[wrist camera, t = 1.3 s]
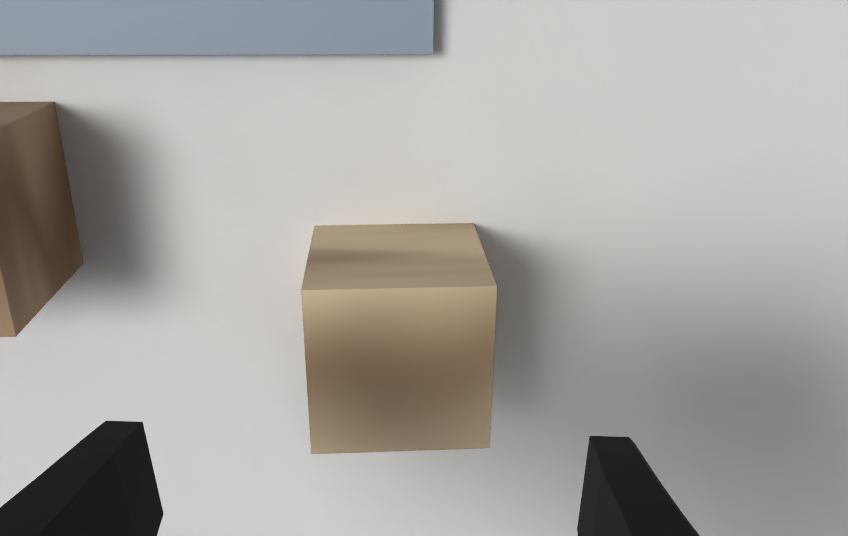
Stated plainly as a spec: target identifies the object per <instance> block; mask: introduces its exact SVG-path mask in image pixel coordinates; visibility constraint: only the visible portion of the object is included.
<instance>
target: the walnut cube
mask: <svg viewBox="0 0 848 536" xmlns="http://www.w3.org/2000/svg"><path fill="white" fill-rule="evenodd" d="M82 264H83V260H82V254H81V249H80V243H79V238H78V232H77V226H76V221H75V215H74V210H73V204H72V198H71V193H70V187H69V182H68V176H67V170H66V165H65V159H64V154H63V148H62V143H61V137H60V131H59V126H58V120H57V115H56V109H55V103H54V102H0V337H16V336H17V335H18V334H19V333H20V331H21V330H22V329H23V328H24V327H25V326H26V325H27V324H28V323H29V322H30V321H31V319H32V318H33V317H34V316H35V315H36V314H37V313H38V312H39V311H40V310H41V309H42V307H43V306H44V305H45V304H46V303H47V302H48V301H49V300H50V299H51V298H52V297H53V295H54V294H55V293H56V292H57V291H58V290H59V289H60V288H61V287H62V286H63V285H64V283H65V282H66V281H67V280H68V279H69V278H70V277H71V276H72V275H73V274H74V273H75V271H76V270H77V269H78V268H79V267H80V266H81V265H82Z"/></svg>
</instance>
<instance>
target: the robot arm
mask: <svg viewBox="0 0 848 536" xmlns="http://www.w3.org/2000/svg"><path fill="white" fill-rule="evenodd" d="M162 516H163V510H162V506H161V501H160V497H159V493H158V488H157V484H156V479H155V475H154V471H153V466H152V462H151V457H150V453H149V449H148V444H147V440H146V435H145V431H144V426H143V422H124V421H105V422H104V423H103V424H101V425H100V426H99V427H97V428H96V429H95V430H94V431H92V432H91V433H90V434H89V435H88V436H86V437H85V438H84V439H83V440H81V441H80V442H79V443H78V444H77V445H76V446H74V447H73V448H72V449H71V450H70V451H68V452H67V453H66V454H65V455H64V456H62V457H61V458H60V459H59V460H58V461H56V462H55V463H54V464H53V465H52V466H50V467H49V468H48V469H47V470H46V471H45V472H43V473H42V474H41V475H40V476H38V477H37V478H36V479H35V480H34V481H32V482H31V483H30V484H29V485H27V486H26V487H25V488H24V489H23V490H21V491H20V492H19V493H18V494H16V495H15V496H14V497H13V498H12V499H10V500H9V501H8V502H7V503H5V504H4V505H3V506H2V507H0V536H157V533H158V530H159V526H160V523H161V520H162ZM577 530H578V536H699V534H698V533H697V532H696V530H695V529H694V528H693V527H692V525H691V524H690V523H689V521H688V520H687V519H686V517H685V516H684V515H683V513H682V512H681V511H680V509H679V508H678V507H677V505H676V504H675V502H674V501H673V500H672V498H671V497H670V495H669V494H668V492H667V491H666V490H665V488H664V487H663V485H662V484H661V482H660V481H659V480H658V478H657V477H656V475H655V474H654V472H653V471H652V469H651V468H650V466H649V465H648V463H647V462H646V460H645V459H644V457H643V455H642V454H641V452H640V451H639V449H638V448H637V446H636V445H635V443H634V442H633V441H632V440H631V439H630V438H629V437H605V436H590V438H589V446H588V453H587V461H586V468H585V476H584V483H583V491H582V498H581V505H580V513H579V520H578V528H577Z"/></svg>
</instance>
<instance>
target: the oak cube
mask: <svg viewBox="0 0 848 536" xmlns="http://www.w3.org/2000/svg"><path fill="white" fill-rule="evenodd" d="M301 295H302V311H303V327H304V344H305V360H306V376H307V393H308V409H309V425H310V441H311V454H328V453H358V452H387V451H416V450H445V449H475V448H490V429H491V407H492V386H493V365H494V343H495V322H496V300H497V284H496V282H495V279H494V276H493V274H492V271H491V268H490V266H489V263H488V260H487V258H486V255H485V252H484V250H483V247H482V245H481V242H480V239H479V237H478V234H477V231H476V229H475V226H474V223H454V224H393V225H331V226H314V230H313V235H312V240H311V245H310V250H309V255H308V259H307V264H306V269H305V274H304V279H303V284H302V289H301Z"/></svg>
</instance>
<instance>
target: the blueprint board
mask: <svg viewBox="0 0 848 536" xmlns="http://www.w3.org/2000/svg"><path fill="white" fill-rule="evenodd" d="M433 23H434V0H0V55H313V54H433Z"/></svg>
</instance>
